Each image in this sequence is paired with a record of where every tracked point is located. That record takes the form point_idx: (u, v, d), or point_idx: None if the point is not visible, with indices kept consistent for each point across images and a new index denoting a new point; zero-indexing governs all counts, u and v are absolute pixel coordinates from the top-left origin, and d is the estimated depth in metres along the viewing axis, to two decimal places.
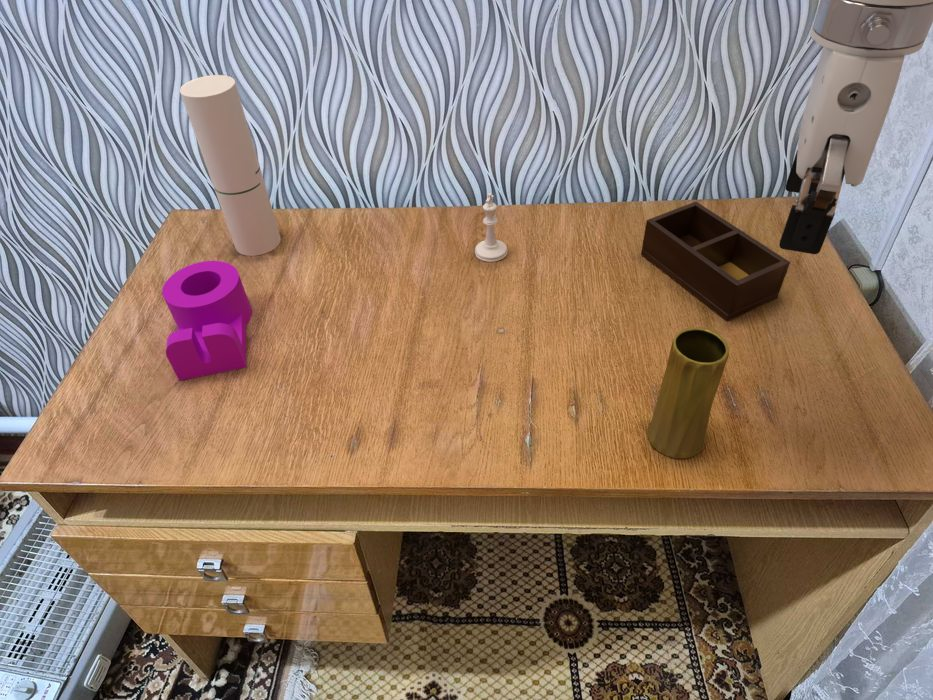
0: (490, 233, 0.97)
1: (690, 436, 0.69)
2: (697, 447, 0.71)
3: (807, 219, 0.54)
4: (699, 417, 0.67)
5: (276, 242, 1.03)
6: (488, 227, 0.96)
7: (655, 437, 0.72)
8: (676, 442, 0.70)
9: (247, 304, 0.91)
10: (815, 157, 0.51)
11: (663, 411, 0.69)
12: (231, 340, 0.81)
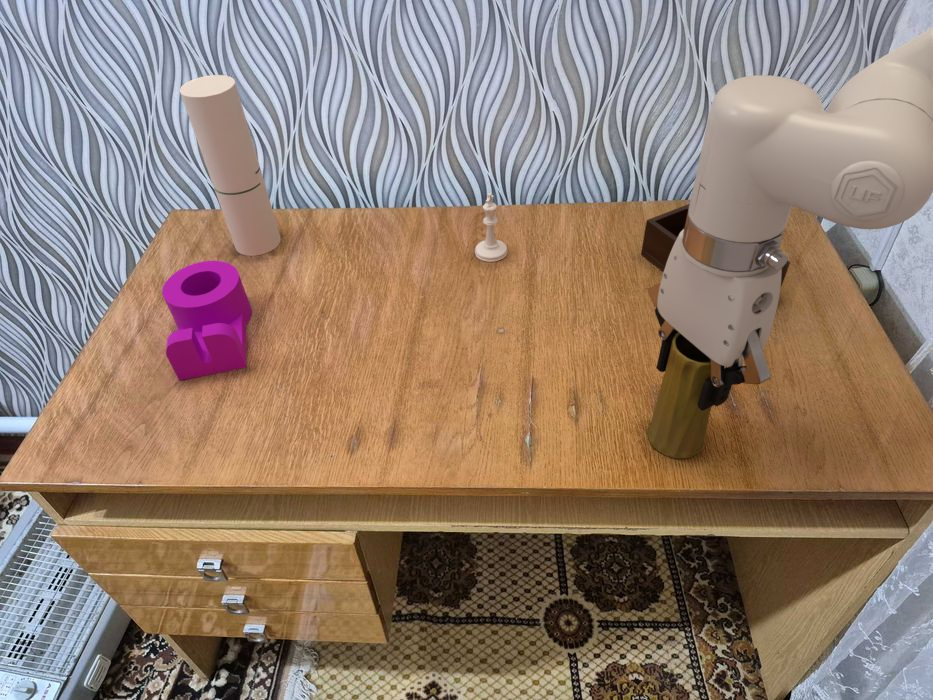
0: (490, 233, 0.97)
1: (690, 436, 0.69)
2: (697, 447, 0.71)
3: (724, 386, 0.62)
4: (699, 417, 0.67)
5: (276, 242, 1.03)
6: (488, 227, 0.96)
7: (655, 437, 0.72)
8: (676, 442, 0.70)
9: (247, 304, 0.91)
10: None
11: (663, 411, 0.69)
12: (231, 340, 0.81)
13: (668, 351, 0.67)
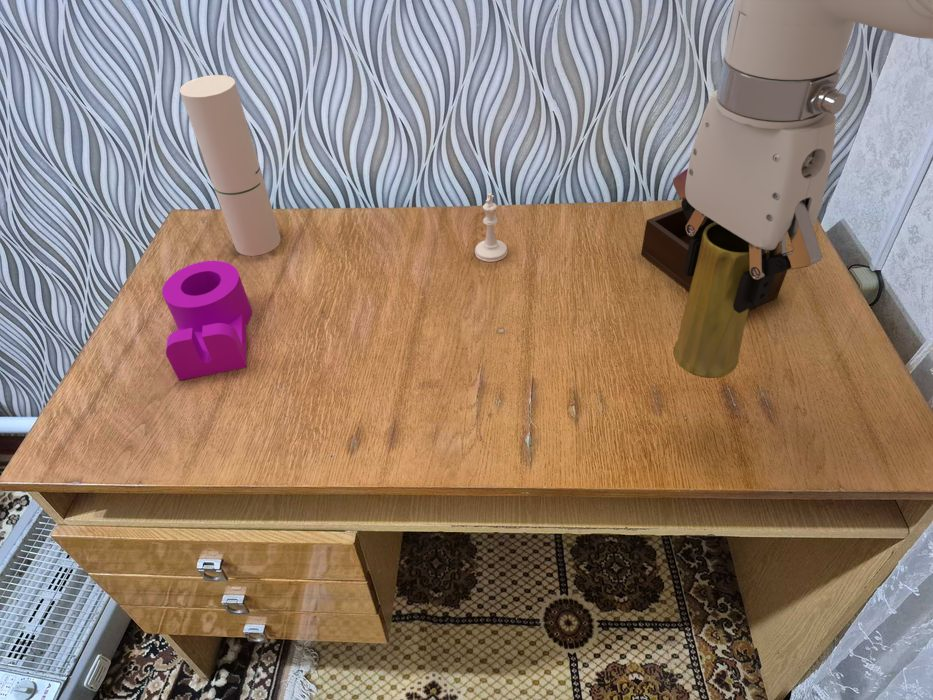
0: (490, 233, 0.97)
1: (723, 349, 0.61)
2: (730, 364, 0.63)
3: (764, 280, 0.54)
4: (733, 325, 0.59)
5: (276, 242, 1.03)
6: (488, 227, 0.96)
7: (683, 355, 0.63)
8: (707, 357, 0.62)
9: (247, 304, 0.91)
10: None
11: (692, 321, 0.60)
12: (231, 340, 0.81)
13: (697, 249, 0.59)
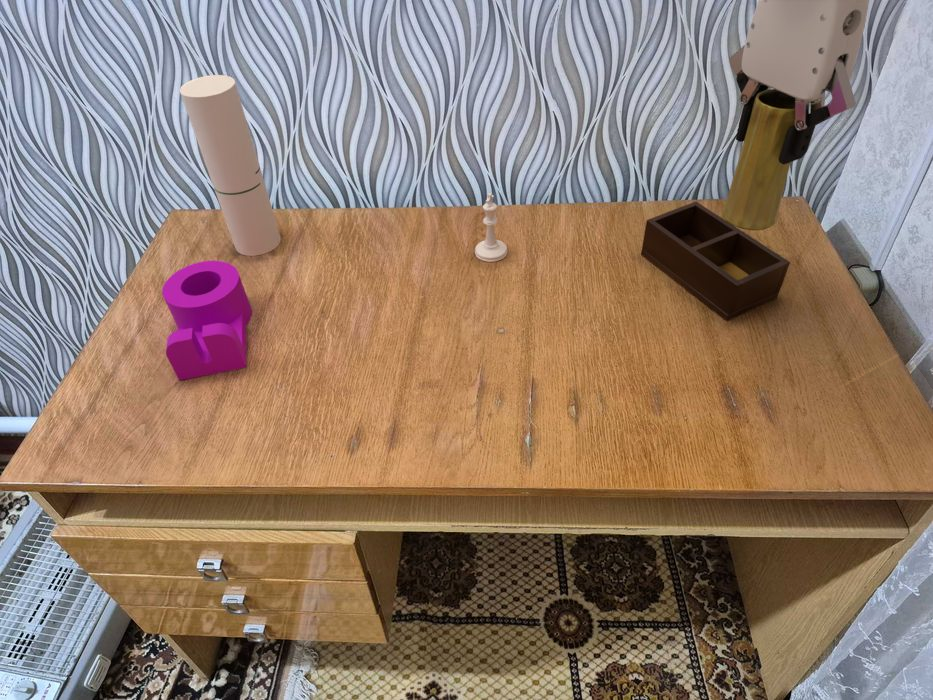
0: (490, 233, 0.97)
1: (767, 202, 0.74)
2: (771, 218, 0.76)
3: (806, 132, 0.67)
4: (777, 179, 0.72)
5: (276, 242, 1.03)
6: (488, 227, 0.96)
7: (732, 211, 0.77)
8: (753, 211, 0.75)
9: (247, 304, 0.91)
10: None
11: (742, 178, 0.73)
12: (231, 340, 0.81)
13: (749, 115, 0.72)
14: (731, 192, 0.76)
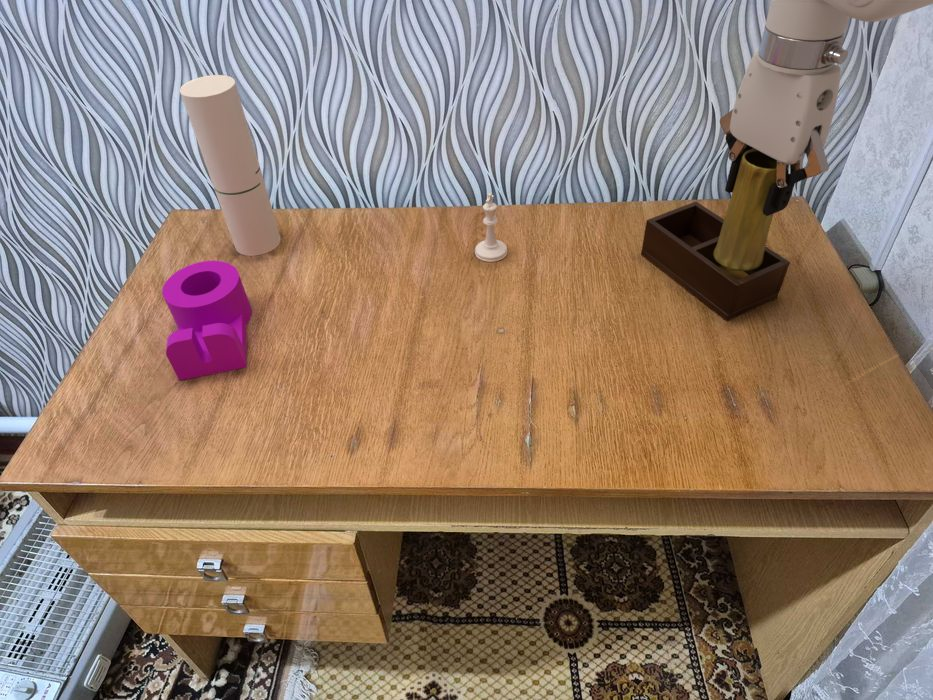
0: (490, 233, 0.97)
1: (753, 247, 0.82)
2: (757, 261, 0.84)
3: (786, 189, 0.76)
4: (761, 227, 0.80)
5: (276, 242, 1.03)
6: (488, 227, 0.96)
7: (721, 254, 0.85)
8: (740, 254, 0.83)
9: (247, 304, 0.91)
10: None
11: (731, 225, 0.82)
12: (231, 340, 0.81)
13: (737, 171, 0.80)
14: (721, 236, 0.85)
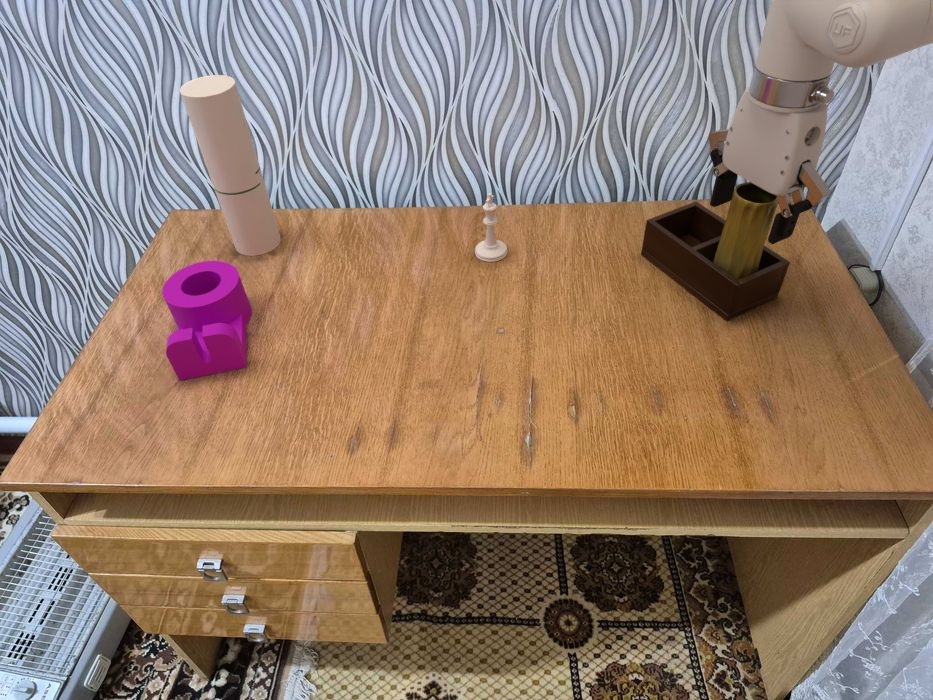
0: (490, 233, 0.97)
1: (745, 276, 0.85)
2: None
3: (792, 218, 0.76)
4: (753, 257, 0.84)
5: (276, 242, 1.03)
6: (488, 227, 0.96)
7: None
8: None
9: (247, 304, 0.91)
10: (793, 179, 0.73)
11: (723, 255, 0.85)
12: (231, 340, 0.81)
13: (720, 186, 0.83)
14: None
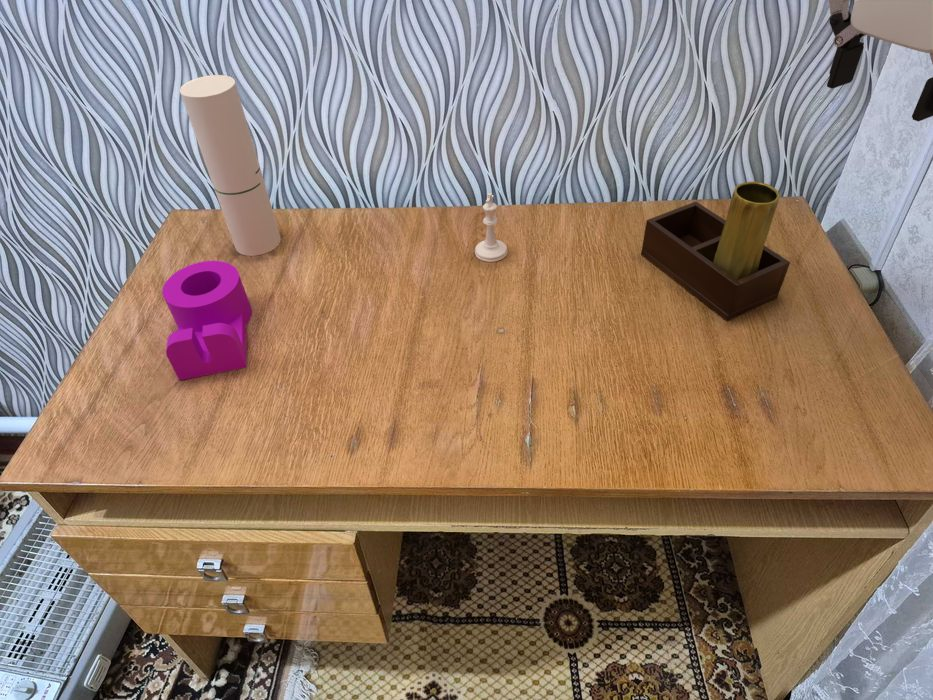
0: (490, 233, 0.97)
1: (745, 276, 0.85)
2: None
3: None
4: (753, 257, 0.84)
5: (276, 242, 1.03)
6: (488, 227, 0.96)
7: None
8: None
9: (247, 304, 0.91)
10: None
11: (723, 255, 0.85)
12: (231, 340, 0.81)
13: (844, 59, 0.68)
14: None
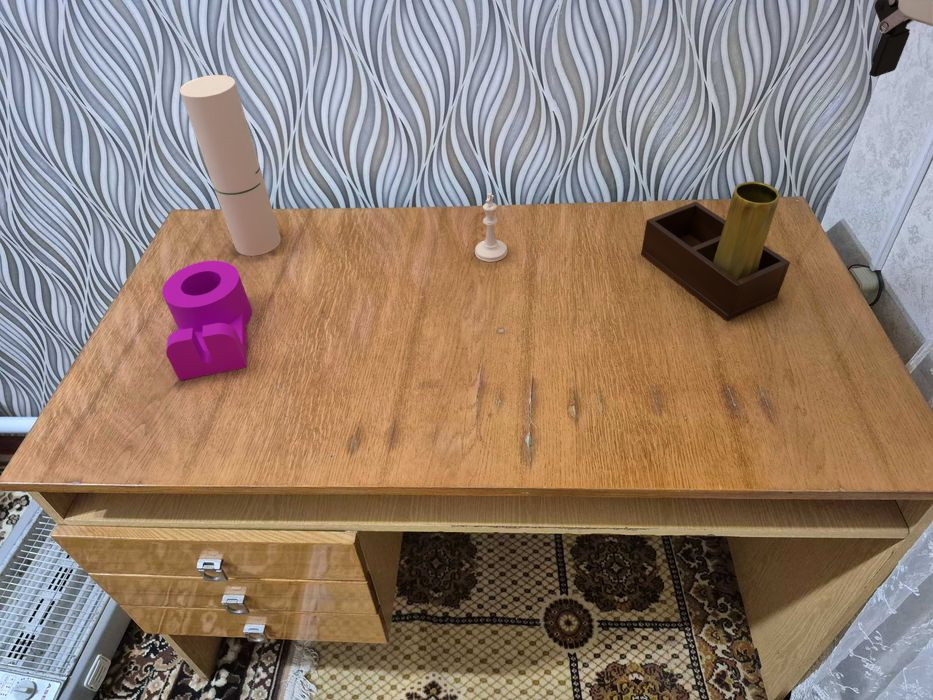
0: (490, 233, 0.97)
1: (745, 276, 0.85)
2: None
3: None
4: (753, 257, 0.84)
5: (276, 242, 1.03)
6: (488, 227, 0.96)
7: None
8: None
9: (247, 304, 0.91)
10: None
11: (723, 255, 0.85)
12: (231, 340, 0.81)
13: (889, 45, 0.65)
14: None
